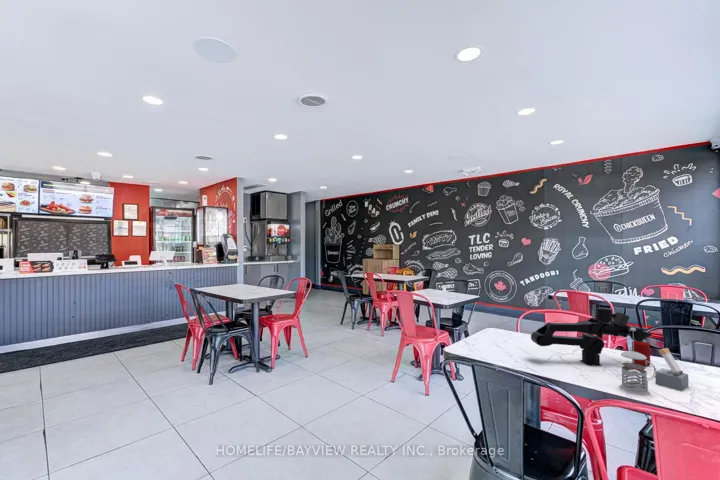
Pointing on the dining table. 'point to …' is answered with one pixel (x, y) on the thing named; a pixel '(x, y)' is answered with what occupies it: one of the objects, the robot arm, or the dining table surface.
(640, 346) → the beverage can
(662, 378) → the switch box
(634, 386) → the french press
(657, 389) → the dining table surface
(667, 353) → the lever
